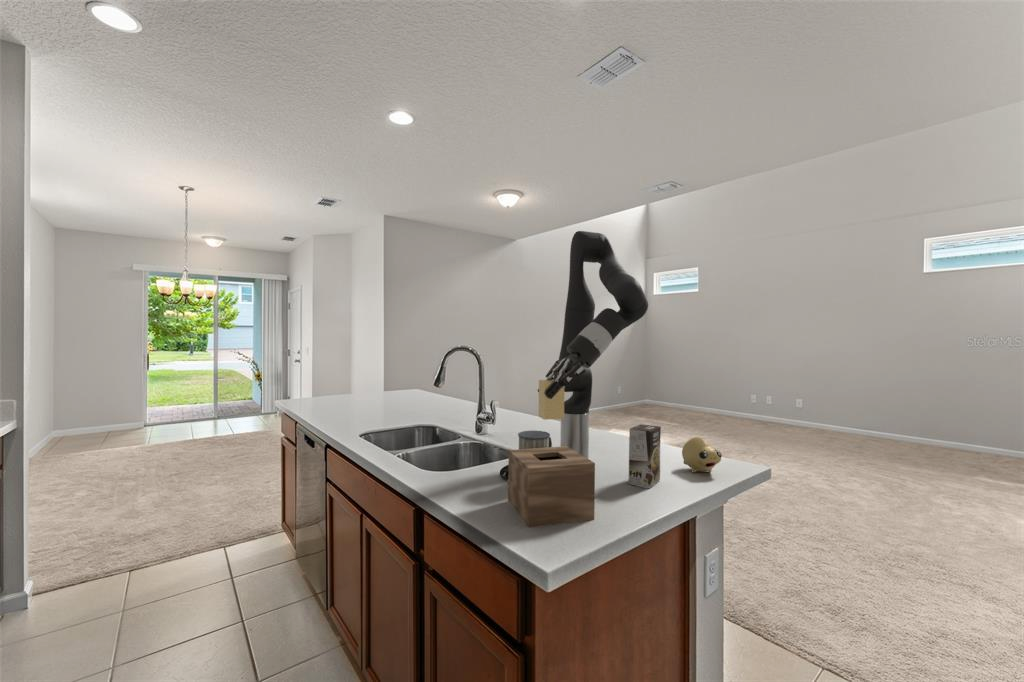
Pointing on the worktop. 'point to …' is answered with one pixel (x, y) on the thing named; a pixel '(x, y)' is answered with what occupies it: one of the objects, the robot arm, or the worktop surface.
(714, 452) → the yellow creature figurine
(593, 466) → the coin box
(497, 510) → the worktop surface
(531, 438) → the milk frother
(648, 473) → the coffee box
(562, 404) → the yellow rectangular block
